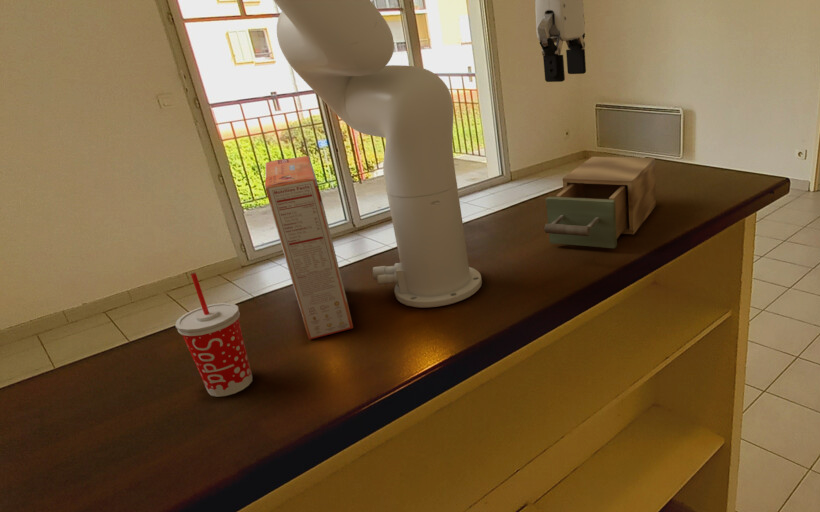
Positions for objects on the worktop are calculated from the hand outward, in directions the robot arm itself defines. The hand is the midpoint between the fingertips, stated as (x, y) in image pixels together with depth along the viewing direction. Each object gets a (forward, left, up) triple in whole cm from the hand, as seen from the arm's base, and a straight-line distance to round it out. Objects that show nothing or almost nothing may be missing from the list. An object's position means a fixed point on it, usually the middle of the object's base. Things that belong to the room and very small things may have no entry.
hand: (566, 77), depth 101 cm
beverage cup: (-43, -43, -26) cm, 66 cm away
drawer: (+2, -8, -25) cm, 27 cm away
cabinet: (+7, +3, -26) cm, 27 cm away
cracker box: (-37, -27, -26) cm, 53 cm away
